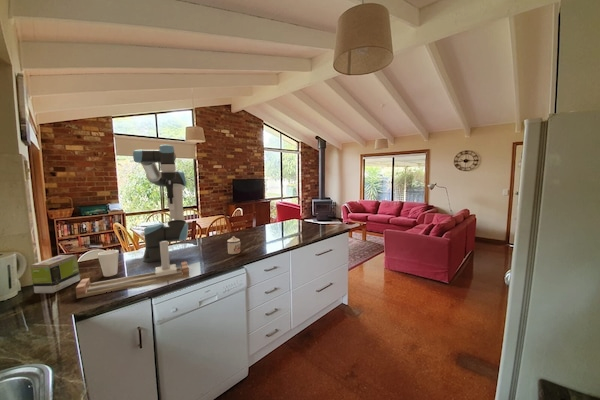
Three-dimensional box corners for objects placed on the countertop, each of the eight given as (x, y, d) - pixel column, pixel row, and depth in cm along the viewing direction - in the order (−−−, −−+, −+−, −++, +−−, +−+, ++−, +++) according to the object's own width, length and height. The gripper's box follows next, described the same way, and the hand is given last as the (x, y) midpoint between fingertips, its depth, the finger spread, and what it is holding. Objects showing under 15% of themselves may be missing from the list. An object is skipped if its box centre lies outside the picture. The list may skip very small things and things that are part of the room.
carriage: (155, 270, 142) (153, 241, 140) (175, 267, 147) (173, 238, 145) (155, 276, 133) (153, 245, 132) (176, 272, 138) (174, 242, 137)
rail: (83, 288, 128) (82, 278, 127) (187, 269, 151) (186, 261, 150) (76, 298, 117) (75, 288, 117) (189, 276, 141) (188, 267, 140)
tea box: (62, 280, 138) (59, 254, 137) (80, 280, 138) (77, 254, 137) (33, 293, 123) (29, 264, 122) (53, 293, 123) (49, 264, 122)
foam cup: (119, 270, 153) (116, 248, 151) (122, 274, 146) (119, 252, 145) (99, 274, 146) (96, 252, 145) (101, 279, 139) (98, 256, 138)
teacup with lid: (235, 255, 177) (234, 238, 176) (224, 253, 180) (224, 237, 179) (245, 250, 188) (244, 234, 187) (235, 249, 191) (234, 233, 190)
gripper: (160, 172, 157) (163, 206, 159) (161, 171, 135) (164, 211, 137) (174, 172, 160) (176, 205, 162) (177, 171, 139) (179, 210, 141)
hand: (171, 208), depth 150 cm, fingers open, 13 cm apart
